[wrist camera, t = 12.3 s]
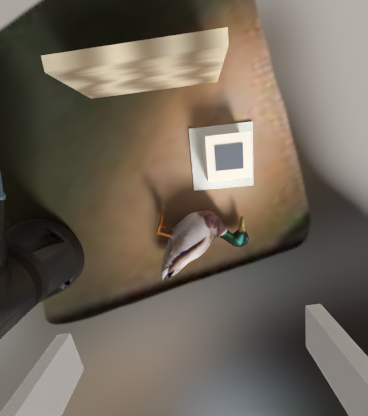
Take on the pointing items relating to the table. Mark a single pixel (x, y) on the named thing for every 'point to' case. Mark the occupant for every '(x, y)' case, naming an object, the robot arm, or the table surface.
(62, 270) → the robot arm
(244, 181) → the felt mat
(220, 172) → the cream cube
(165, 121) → the table surface
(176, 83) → the birch screen
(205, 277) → the table surface
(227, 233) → the decorative duck model
